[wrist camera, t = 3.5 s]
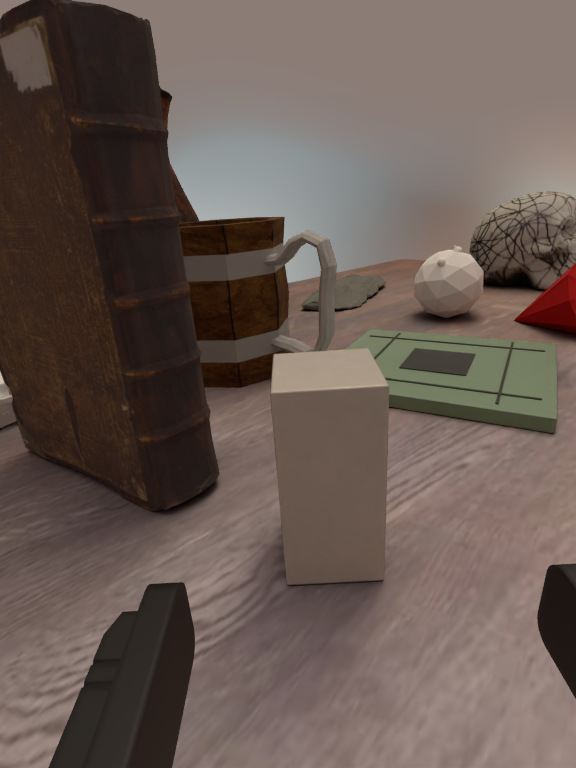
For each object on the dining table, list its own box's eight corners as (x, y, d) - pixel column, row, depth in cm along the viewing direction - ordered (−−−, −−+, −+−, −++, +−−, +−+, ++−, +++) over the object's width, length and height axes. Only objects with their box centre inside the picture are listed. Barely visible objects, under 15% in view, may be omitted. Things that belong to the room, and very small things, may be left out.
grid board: (554, 354, 46) (556, 342, 46) (554, 433, 32) (557, 417, 31) (370, 337, 56) (370, 327, 55) (305, 393, 41) (304, 380, 41)
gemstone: (484, 318, 55) (569, 292, 47) (505, 275, 59) (587, 244, 51) (521, 367, 58) (607, 351, 49) (539, 323, 62) (622, 301, 53)
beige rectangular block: (367, 516, 25) (369, 347, 21) (384, 581, 21) (390, 385, 17) (286, 520, 25) (272, 353, 21) (286, 586, 21) (270, 392, 17)
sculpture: (532, 299, 68) (548, 193, 62) (450, 280, 86) (456, 196, 80) (608, 287, 72) (629, 186, 66) (515, 272, 90) (525, 191, 84)
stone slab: (387, 290, 86) (338, 283, 90) (389, 276, 85) (339, 269, 89) (354, 321, 68) (294, 310, 71) (356, 304, 67) (295, 294, 70)
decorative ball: (483, 347, 57) (455, 260, 53) (419, 346, 66) (391, 272, 62) (519, 313, 60) (495, 229, 56) (454, 317, 69) (429, 244, 65)
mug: (146, 375, 48) (116, 229, 42) (227, 340, 58) (212, 219, 53) (300, 411, 38) (289, 224, 32) (366, 360, 48) (366, 212, 42)
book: (233, 482, 29) (167, 0, 19) (136, 545, 24) (-17, -55, 14) (106, 416, 39) (22, 83, 30) (20, 451, 35) (-113, 66, 25)
